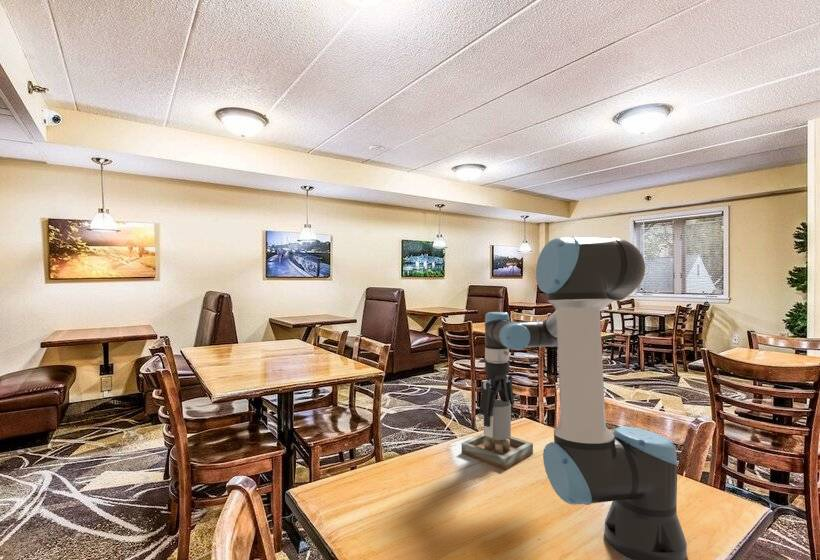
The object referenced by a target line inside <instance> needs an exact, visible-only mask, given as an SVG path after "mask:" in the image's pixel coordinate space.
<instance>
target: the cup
mask: <svg viewBox="0 0 820 560" xmlns="http://www.w3.org/2000/svg"><path fill="white" fill-rule="evenodd" d="M511 406H512V405H511V404H510V403H509V402H507V401H506V402H503V401H502V400H501V399H495V402H494V406H493V410H492V414H491V415H492V416H493V437H492V438H491V437H488V436H485V437H487V438H490V439H494V440H505V439H508V438H510V436H511V435H512V433H511V432H512V431H511V430H512V429H511V427H512V426H511V425H512V424H511V423H512V412H511V411H512V409H511ZM488 412H489V411H488ZM483 433H484V435H485V426H484V425H483ZM511 437H512V436H511Z"/></svg>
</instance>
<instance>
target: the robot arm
mask: <svg viewBox="0 0 820 560" xmlns="http://www.w3.org/2000/svg"><path fill="white" fill-rule="evenodd" d="M645 272H646V262H645V259H644V256H643V254H642V253H641V251H640V249H638V248H637V247H636V246H635V245H634V244H633V243H631V242H629V241H628V240H625V239H622V238H617V237H606V238H605V237H585V236H584V237H581V236H568V237H557V238H553V239H551V240H549V241H548V242H546V244H544V246H543V248H542V249H541V251H540V253H539V255H538V258H537V262H536V265H535V279H536V280H535V281H536V283H537V287H538V288H539V290H540V291H541V292H543V293H545V294H547V301H548V303H549V304H550V305H551V306H552V307H554V309H555V311H554V312H553V313H552V314H550V315H549V317H547V318H546V319H544V320H538V321H537V320H533V321H511V320H510V315H509V313H508V312H505V311H490V312H486V313H485V317H484V318H485V319H484V344H485V346H484V359H485V360H486V361H485V362H484V373H486V374H487V380H486V381H481V385H480V386H481V392H480V393H481V394H480V400H479V401H480V402H479V411H478V413H479V415H483V427H484V426H485V436H488V437H491V438H492V437H493V416H492V415H491V414H492V410H493V406H494V402H495V400H496V396H498V394H499V398H500V400H502V401H503V402H506V401H507V402H509V403H510V404H511V410H513V409H514V405H515V400H514V399H515V398H514V391H513V376H512V375H509V374H510V362H509V361H510V350H511V351H512V350H514V351H521V350H523V349H525V348H537V347H538V348H542V347H557V363H558V384H559V385H558V386H559V387H558V388H559V390H558V391H559V409H560V423H559V424H558V426H556V427H555V428H554V430H553V441H550V443H546V445H545V446H544V449H543V453H542V456H543V458H542V459H543V466H544V469H545V473H546V476H547V479H548V481H549V484H550V486H551V488H552V489H553V490H554V491H553V492H555V493H556V495H557V497H559V499H561V500H562V501H563V502H565V503H567V504H569V505H574V506H575V505H585V506H588V505H592V504H599V503H607V502H611V504H610V507H609V509H608V512H607V515H606V518H605V520H604V536H605V539H606V540H607V542H608V543H609V545H611V547H613V549H615V550H616V551H618V552H619V553H620V554H622V555H624V556H626V557H628V558H630V559H632V560H686V559H687V554H688V549H687V547H688V546H687V540H686V537H685V535H684V531H683V529H682V525H681V522H680V519H679V516H678V513H677V512H678V511H677V510H678V509H677V501H678V500H677V498H678V497H677V494H678V492H677V491H678V465H679V462H678V461H677V460H678V459H677V458H678V457H677V448H676V445H675V444H674V443H673V441H672V440H670V439H669V438H667V437H665V436H663V435H661V434H658V433H656V432H653V431H650V430H646V429H643V428H639V427H633V426H625V425H624V426H623V425H621V426H616V427H615V428H614V429H613V432H612V431H611V430H609V428H608V427H607V425H606V405H605V387H604V368H603V350H602V349H603V345H602V330H601V328H602V327H601V311H603V310H604V309H605V308H606V307H608V306H609V305H611V304H612V303H613V302H619V301H622V300H624V299H626V298H627V297H629V295H631V294H632V293H634V291H636V290H637V289H638V287H640V285H641V283H642V282H643V280H644V278H645V277H644V276H645V274H646V273H645ZM488 411H489V412H488Z"/></svg>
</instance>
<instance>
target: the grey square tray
mask: <svg viewBox="0 0 820 560" xmlns="http://www.w3.org/2000/svg"><path fill="white" fill-rule="evenodd" d="M461 454H463V455H465V456H469V457H471V458H473V459H475V460H478V461H481V462H484V463H486V464H489V465H491V466H494V467H496V468H499V469H501V470H504V471H505V470H508V468H510V467H512V466H514V465H515V464H517V463H520V462H521V461H523V460H524V459H526V458H527V457H530V456H531V455H533V454H534V443H533V442H531V441H527V440H524V439H520V438H517V437H514V436H510V438H508V439H505V440H494V439H490V438H487V437H485V435H484V432H483V433H481V434H478V435H476V436H474V437H472V438H469V439H467V440H464V441H463V442H461Z"/></svg>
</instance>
